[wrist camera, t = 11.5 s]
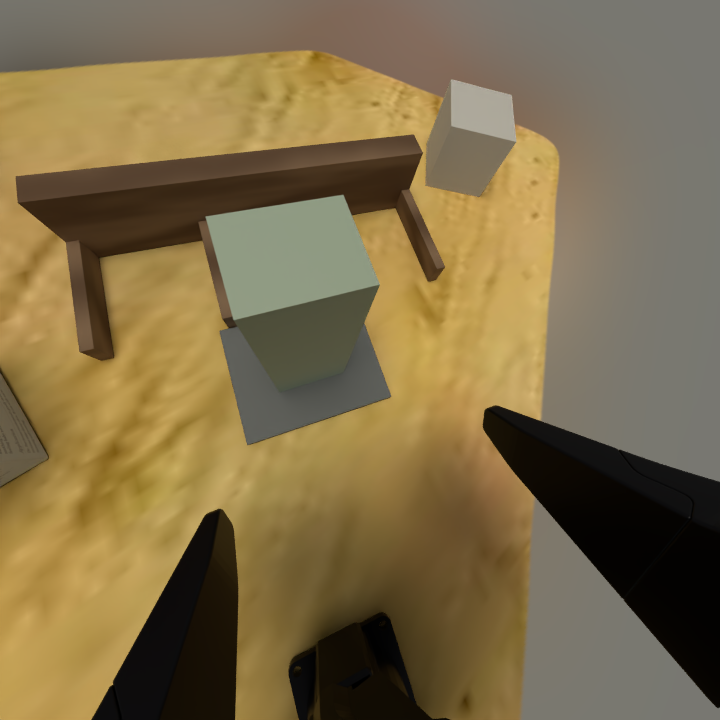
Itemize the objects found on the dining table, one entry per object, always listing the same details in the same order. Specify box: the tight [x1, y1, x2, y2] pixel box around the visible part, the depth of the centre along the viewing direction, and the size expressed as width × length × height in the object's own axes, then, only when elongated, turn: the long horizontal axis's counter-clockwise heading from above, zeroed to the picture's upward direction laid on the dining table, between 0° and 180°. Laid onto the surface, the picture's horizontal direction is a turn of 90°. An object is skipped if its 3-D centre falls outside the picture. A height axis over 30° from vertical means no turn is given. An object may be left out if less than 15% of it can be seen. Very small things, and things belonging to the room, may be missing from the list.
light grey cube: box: [425, 79, 516, 197], centre depth 28 cm, size 6×6×6 cm
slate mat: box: [220, 324, 391, 445], centre depth 22 cm, size 9×11×1 cm
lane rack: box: [16, 135, 445, 361], centre depth 22 cm, size 10×27×6 cm, turn 109°
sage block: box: [206, 195, 380, 393], centre depth 16 cm, size 4×5×13 cm
